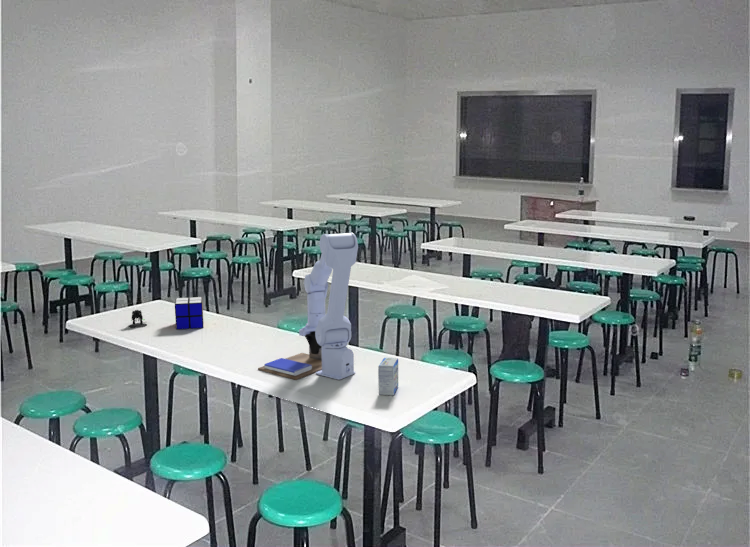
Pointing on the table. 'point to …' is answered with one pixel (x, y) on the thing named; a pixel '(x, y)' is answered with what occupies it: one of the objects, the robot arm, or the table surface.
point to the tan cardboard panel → (303, 358)
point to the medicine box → (388, 376)
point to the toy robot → (136, 315)
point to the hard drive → (288, 366)
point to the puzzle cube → (189, 313)
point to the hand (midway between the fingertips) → (317, 352)
